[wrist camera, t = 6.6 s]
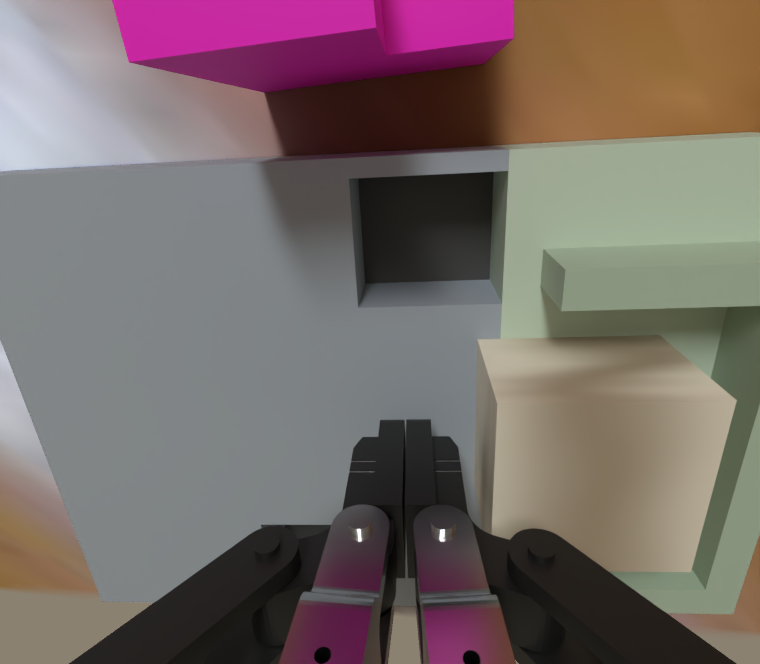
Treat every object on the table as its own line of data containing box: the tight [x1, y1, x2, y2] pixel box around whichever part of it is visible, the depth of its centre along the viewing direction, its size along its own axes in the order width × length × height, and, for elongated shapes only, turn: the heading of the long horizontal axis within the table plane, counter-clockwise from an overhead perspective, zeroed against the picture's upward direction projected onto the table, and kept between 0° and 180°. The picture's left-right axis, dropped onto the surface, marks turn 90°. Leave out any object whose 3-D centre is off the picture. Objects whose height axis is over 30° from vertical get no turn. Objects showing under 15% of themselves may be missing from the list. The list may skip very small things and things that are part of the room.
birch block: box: [474, 335, 737, 572], centre depth 13 cm, size 5×5×4 cm
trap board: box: [0, 132, 760, 614], centre depth 16 cm, size 22×16×4 cm
